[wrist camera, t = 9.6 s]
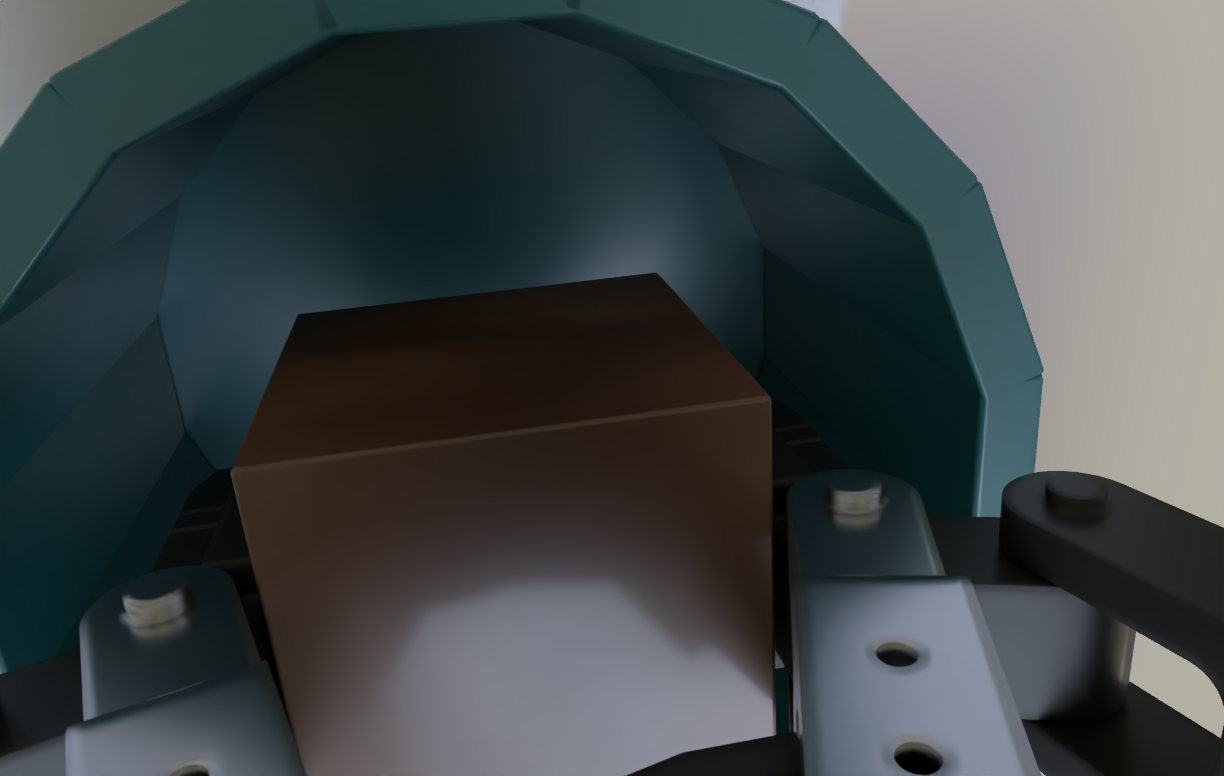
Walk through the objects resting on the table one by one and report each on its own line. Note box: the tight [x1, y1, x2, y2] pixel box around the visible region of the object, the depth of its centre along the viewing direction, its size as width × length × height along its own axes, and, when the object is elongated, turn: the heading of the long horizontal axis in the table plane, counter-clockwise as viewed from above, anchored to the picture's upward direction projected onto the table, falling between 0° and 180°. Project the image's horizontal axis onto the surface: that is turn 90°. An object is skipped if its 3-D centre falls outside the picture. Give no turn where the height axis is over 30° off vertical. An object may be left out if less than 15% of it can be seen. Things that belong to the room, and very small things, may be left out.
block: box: [230, 273, 776, 776], centre depth 11 cm, size 5×5×5 cm
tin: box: [0, 0, 1043, 735], centre depth 15 cm, size 13×13×8 cm
